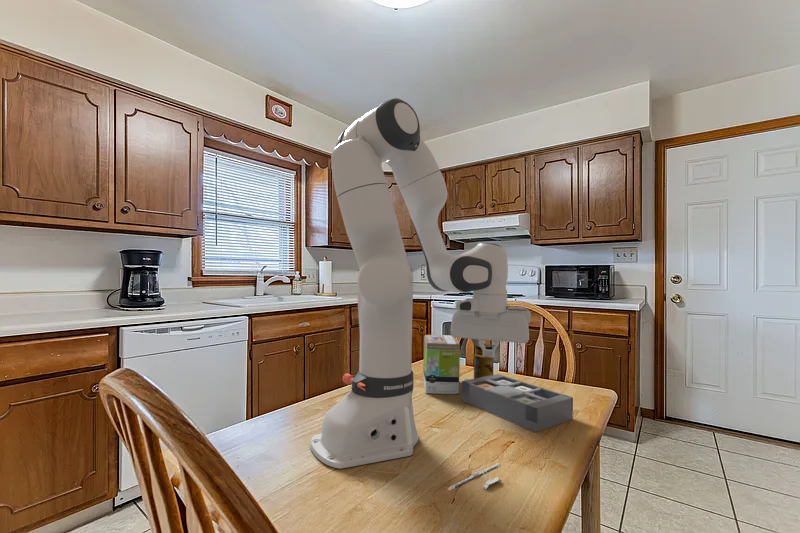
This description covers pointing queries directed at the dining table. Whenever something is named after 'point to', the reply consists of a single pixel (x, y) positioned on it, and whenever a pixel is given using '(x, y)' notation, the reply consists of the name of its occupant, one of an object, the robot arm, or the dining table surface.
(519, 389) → the key cream
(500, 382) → the key grey
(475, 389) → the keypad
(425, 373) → the tea box
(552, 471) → the dining table surface
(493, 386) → the key terracotta
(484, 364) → the condiment
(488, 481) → the picture light
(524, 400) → the key sage
